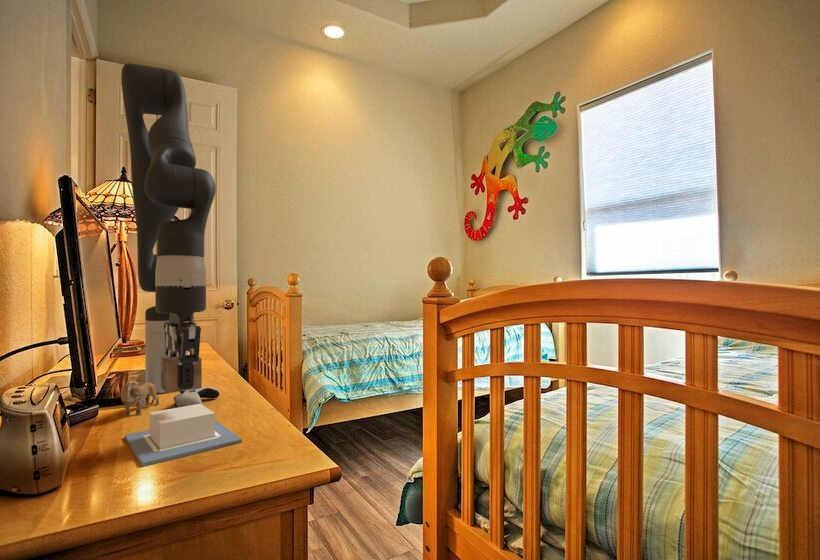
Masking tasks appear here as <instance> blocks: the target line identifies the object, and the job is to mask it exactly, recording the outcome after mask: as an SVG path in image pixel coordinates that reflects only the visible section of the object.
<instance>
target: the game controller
mask: <svg viewBox="0 0 820 560" xmlns="http://www.w3.org/2000/svg"><path fill="white" fill-rule="evenodd" d="M220 395H221V394H220V391H219V390H218V389H217V388H216V387H215V388H214V387H210V386H205V387H203V386H202V388H199V389H192V390H186V391H179V393H177V394H175V396H173V401H174V408H178V407H184V406H190V405H195V404H202V405H203V401H202V399H210V400H211V399H213V400H214V399H217V398H218V397H219V396H220Z"/></svg>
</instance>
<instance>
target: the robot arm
mask: <svg viewBox="0 0 820 560" xmlns="http://www.w3.org/2000/svg"><path fill="white" fill-rule="evenodd" d="M120 80H121V81H120V83H121V92H122V99H123V107H124V112H125V120H126V127H127V133H128V140H129V152H130V172H131V173H130V176H131V187H132V190H131V191H132V200H133V208H134V214H135V215H134V216H135V225H136V237H137V238H136V239H137V244H136V245H137V279H138V284H139V286H140V289H141V290H142V291H144V292H147V293H155V295H154V296H155V305H154V306H151V307H148V308H146V310H145V312H144V317H145V318H144V319H145V321H144V322H145V323H144V325H145V327H144V328H145V329H144V333H145V340H144V341H145V350H144V352H145V356H144V357H145V361H144V362H145V363H144V365H145V367H144V368H145V369H144V373H145V375H144V376H145V379H144V380H145V382H144V384H145V383H152V384H154V385H155V388H156V394H163V393H167V392H166V391H164V390H163V389H162V388H161V358H167V357H177V364H178V388H179V389H187V388H192V387H193V385H194V365H193V364H195V362H198V360H199V357H200V346H201V345H200V344H201V332H202V328H201V326H200V325H198V324H197V323H196V322H195V316H194V314H195V313H202V312H204V311H206V309H207V269H206V263H205V262H206V261H205V234H206V226H207V222H208V218H209V214H210V211H211V208H212V205H213V202H214V199H215V196H216V187H217V186H216V185H217V184H216V182H215V178H214V177H213V176H212V174H211V173H210V172H209V171H208V170H206V169H203V168H198V167H196V166H197V165H196V164H197V159H196V154H195V151H194V147H193V144H192V141H191V138H190V129H189V116H188V115H189V114H188V104H187V96H186V95H187V93H186V89H185V88H186V87H185V84H184V81H183V79H182V77H181V76H180V74H179V73H177V72H176V71H174V70H171V69H168V68H164V67H163V68H161V67H156V66H150V65H143V64H138V63H137V64H136V63H131V62H129V63H125V64H124V65H123V66H122V68H121V77H120ZM144 115H154V116H159V118H157V119H156V120H155V121H154V122H153V124H152V125H151V126H150V129H149V130H148V128H147V125H146V123H145V119H144ZM179 208H180V209H188V210H190V213H189V216H188V217H186V218H184V219H176V220H173V218H174V217H175V215H176V214H177V213H178V210H179ZM155 245H157V246H156V254H154V247H155Z"/></svg>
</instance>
